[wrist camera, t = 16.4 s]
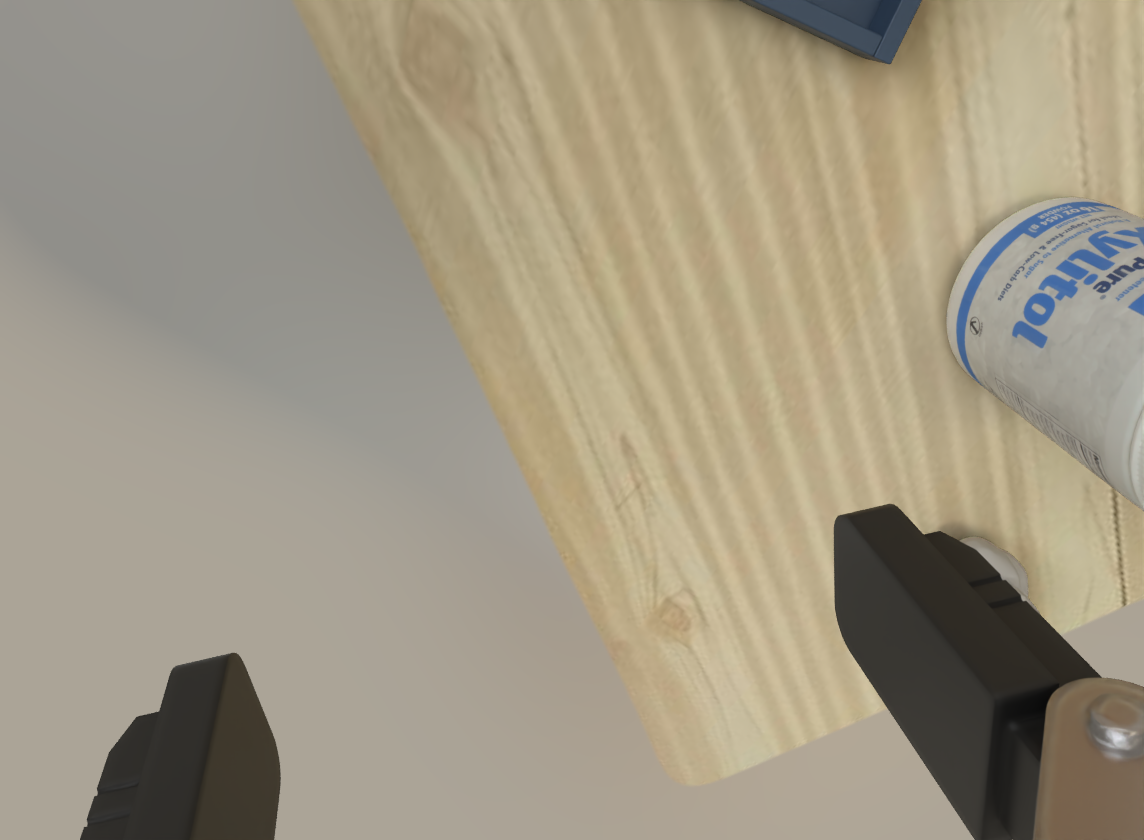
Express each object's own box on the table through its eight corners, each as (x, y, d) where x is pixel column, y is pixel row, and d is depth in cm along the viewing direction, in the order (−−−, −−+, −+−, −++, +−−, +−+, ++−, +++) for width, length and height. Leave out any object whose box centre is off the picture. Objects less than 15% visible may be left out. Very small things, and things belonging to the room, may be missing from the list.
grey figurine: (995, 505, 50) (1095, 597, 43) (1000, 598, 53) (1094, 697, 46) (899, 538, 50) (985, 636, 43) (910, 629, 53) (991, 734, 46)
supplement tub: (1032, 153, 41) (1328, 249, 28) (1163, 252, 45) (1479, 378, 32) (896, 336, 44) (1109, 499, 31) (1029, 416, 48) (1269, 591, 35)
